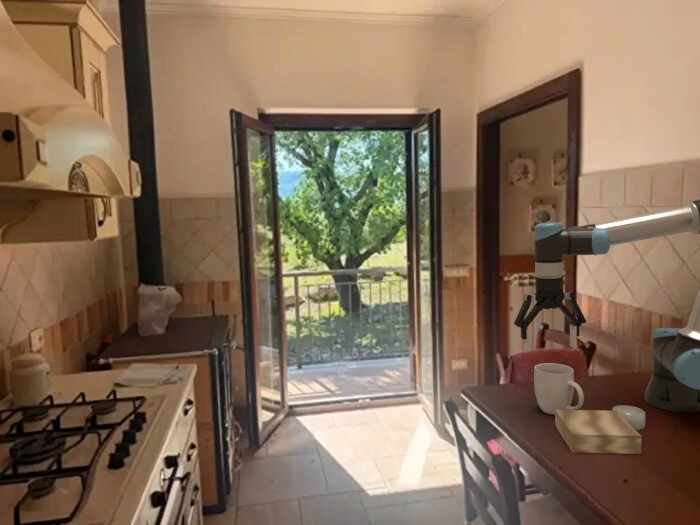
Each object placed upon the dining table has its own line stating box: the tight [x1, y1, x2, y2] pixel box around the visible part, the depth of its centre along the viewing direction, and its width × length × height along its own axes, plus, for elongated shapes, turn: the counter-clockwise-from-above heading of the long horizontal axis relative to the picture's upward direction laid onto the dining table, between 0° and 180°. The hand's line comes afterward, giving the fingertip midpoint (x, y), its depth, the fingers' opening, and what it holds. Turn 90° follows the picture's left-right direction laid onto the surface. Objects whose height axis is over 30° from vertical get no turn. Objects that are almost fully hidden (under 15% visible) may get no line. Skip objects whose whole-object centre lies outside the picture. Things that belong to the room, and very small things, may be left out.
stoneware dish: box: [611, 404, 646, 431], centre depth 142 cm, size 8×8×4 cm
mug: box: [533, 362, 585, 416], centre depth 151 cm, size 15×11×13 cm
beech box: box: [554, 409, 642, 455], centre depth 134 cm, size 16×16×5 cm
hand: (550, 348), depth 150 cm, fingers open, 13 cm apart
